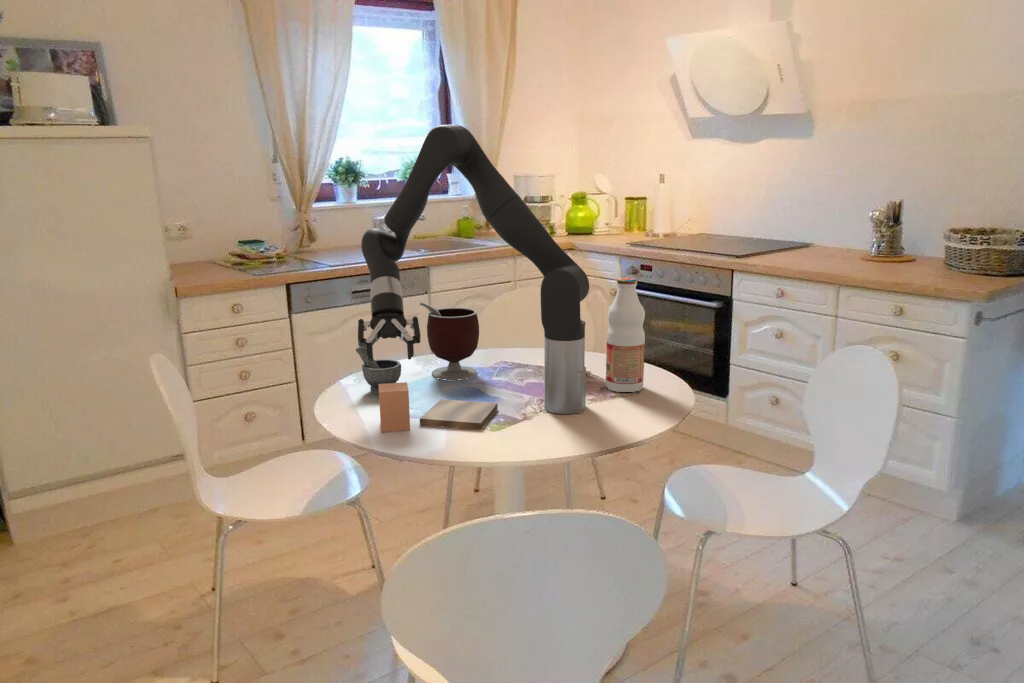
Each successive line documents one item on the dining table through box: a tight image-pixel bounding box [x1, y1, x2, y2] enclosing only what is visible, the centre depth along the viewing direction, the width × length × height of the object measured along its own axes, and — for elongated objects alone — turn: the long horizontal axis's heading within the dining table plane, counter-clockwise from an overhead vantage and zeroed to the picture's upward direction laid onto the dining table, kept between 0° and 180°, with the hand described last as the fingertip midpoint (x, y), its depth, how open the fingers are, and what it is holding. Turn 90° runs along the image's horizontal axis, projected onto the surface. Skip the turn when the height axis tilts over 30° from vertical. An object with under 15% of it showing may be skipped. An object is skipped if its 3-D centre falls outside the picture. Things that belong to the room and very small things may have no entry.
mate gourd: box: [419, 301, 480, 381], centre depth 207 cm, size 16×14×20 cm
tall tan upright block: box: [378, 381, 411, 433], centre depth 169 cm, size 6×6×9 cm
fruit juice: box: [605, 276, 646, 393], centre depth 192 cm, size 9×9×28 cm
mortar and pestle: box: [355, 345, 402, 395], centre depth 194 cm, size 11×9×12 cm
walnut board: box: [419, 398, 498, 431], centre depth 175 cm, size 14×14×2 cm
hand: (390, 358), depth 176 cm, fingers open, 8 cm apart
